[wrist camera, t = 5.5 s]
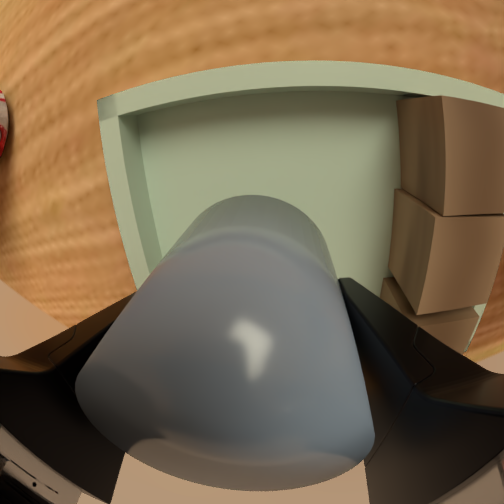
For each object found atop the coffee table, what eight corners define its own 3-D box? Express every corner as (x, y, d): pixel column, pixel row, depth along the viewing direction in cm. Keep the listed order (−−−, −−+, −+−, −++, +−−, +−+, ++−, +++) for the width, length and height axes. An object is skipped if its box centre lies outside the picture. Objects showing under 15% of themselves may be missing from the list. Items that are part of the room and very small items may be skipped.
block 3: (445, 273, 13) (479, 316, 9) (428, 328, 15) (451, 374, 11) (383, 277, 13) (409, 327, 10) (371, 335, 15) (387, 387, 11)
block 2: (460, 190, 11) (509, 217, 7) (450, 261, 13) (487, 303, 9) (394, 188, 11) (435, 217, 8) (387, 266, 13) (416, 315, 9)
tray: (486, 97, 9) (515, 98, 7) (452, 327, 15) (466, 351, 13) (125, 101, 11) (97, 100, 9) (178, 342, 18) (167, 369, 16)
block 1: (464, 108, 9) (517, 111, 5) (466, 186, 11) (514, 212, 7) (395, 100, 10) (441, 95, 6) (400, 187, 11) (443, 216, 8)
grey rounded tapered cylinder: (331, 191, 9) (422, 347, 3) (326, 325, 11) (344, 488, 5) (167, 201, 10) (25, 330, 3) (195, 327, 12) (141, 472, 6)
